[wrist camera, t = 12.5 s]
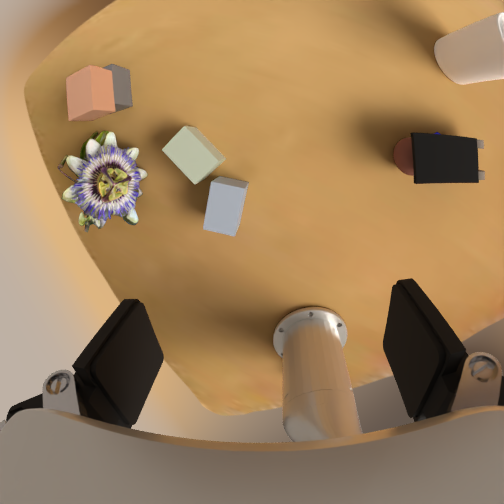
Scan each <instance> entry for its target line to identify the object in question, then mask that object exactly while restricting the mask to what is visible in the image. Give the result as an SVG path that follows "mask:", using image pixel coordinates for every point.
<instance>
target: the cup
mask: <svg viewBox="0 0 504 504" xmlns="http://www.w3.org/2000/svg"><path fill="white" fill-rule="evenodd" d="M434 54H435V58H436V61H437V63H438V65H439V67H440V68H441V70H442V71H443V73H444V74H445V75H446V76H447V77H448V78H449V79H450V80H452V81H453V82H455V83H457V84H469V83H475V82H482V81H489V80H497V79H504V12H502V13H498V14H495V15H493V16H490V17H487V18H485V19H482V20H480V21H477V22H475V23H473V24H470V25H468V26H466V27H463V28H461V29H459V30H457V31H454V32H452V33H450V34H448V35H446V36H444V37H442V38H440V39H438V40H437V41H436V43H435V46H434Z"/></svg>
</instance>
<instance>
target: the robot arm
mask: <svg viewBox="0 0 504 504" xmlns="http://www.w3.org/2000/svg"><path fill="white" fill-rule="evenodd" d="M346 340H347V328H346V325H345V323H344V321H343V319H342V318H341V317H340V316H339V315H338V314H337V313H336V312H334V311H332V310H330V309H326V308H322V307H307V308H302V309H299V310H296V311H293V312H292V313H290V314H288V315H287V316H285V317H284V318H283V319H282V320H281V321H280V322H279V323H278V325H277V326H276V328H275V331H274V334H273V344H274V348H275V350H276V352H277V353H278V355H279V356H280V357H282V358H283V426H284V429H285V431H286V433H287V435H288V436H289V438H290V439H291V440H292V441H293V442H285V443H284V442H282V443H237V442H219V441H206V440H196V439H187V438H180V437H173V436H166V435H160V434H154V433H149V432H144V431H139V430H134V429H131V427H132V425H134V424H135V423H136V422H137V419H138V417H139V415H140V412H141V410H142V408H143V406H144V403H145V401H146V399H147V396H148V394H149V392H150V390H151V387H152V385H153V383H154V380H155V378H156V376H157V374H158V372H159V369H160V367H161V365H162V363H163V359H164V356H163V352H162V350H161V347H160V345H159V343H158V340H157V338H156V335H155V333H154V330H153V328H152V325H151V322H150V320H149V317H148V314H147V312H146V309H145V306H144V304H143V303H140V301H139V300H138V299H124V300H123V301H122V302H121V303H120V305H119V306H118V307H117V308H116V310H115V311H114V312H113V313H112V314H111V316H110V317H109V318H108V319H107V321H106V322H105V323H104V325H103V326H102V327H101V328H100V330H99V331H98V332H97V333H96V335H95V336H94V337H93V339H92V340H91V341H90V343H89V344H88V345H87V346H86V348H85V349H84V350H83V352H82V353H81V354H80V356H79V357H78V358H77V360H76V361H75V363H74V364H73V365H72V367H73V368H74V370H75V371H76V372H75V374H74V375H73V374H72V373H71V372H70V371H68V370H59V371H56V372H55V373H52V374H51V375H50V376H49V377H48V378H47V379H46V380H45V382H44V384H43V393H42V394H40V395H38V396H35V397H33V398H30V399H28V400H26V401H23V402H21V403H18V404H16V405H14V406H12V407H11V408H10V410H9V412H8V415H7V419H6V421H7V422H6V421H5V420H3V421H2V422H0V504H504V376H502V367H501V365H500V363H499V362H498V361H497V359H496V358H495V357H493V356H492V355H490V354H488V353H484V352H476V353H473V354H471V355H470V356H468V354H467V353H466V349H465V348H464V346H463V344H462V343H461V341H460V340H459V338H458V337H457V335H456V334H455V333H454V331H453V330H452V328H451V327H450V326H449V324H448V323H447V322H446V320H445V319H444V317H443V316H442V315H441V313H440V312H439V311H438V309H437V308H436V307H435V306H434V304H433V303H432V302H431V300H430V299H429V298H428V297H427V295H426V294H425V293H424V292H423V290H422V289H421V288H420V287H419V285H418V284H417V283H416V282H415V281H414V280H413V279H404V280H398V281H397V283H396V285H393V287H392V292H391V299H390V306H389V312H388V318H387V324H386V329H385V334H384V339H383V349H384V352H385V354H386V357H387V359H388V362H389V364H390V367H391V369H392V372H393V375H394V377H395V380H396V382H397V385H398V388H399V390H400V393H401V396H402V399H403V401H404V404H405V407H406V410H407V413H408V415H409V417H410V418H412V417H413V419H414V423H410V424H406V425H402V426H398V427H394V428H390V429H385V430H380V431H375V432H370V433H365V434H363V433H362V429H361V426H360V422H359V417H358V413H357V409H356V404H355V400H354V395H353V390H352V386H351V382H350V377H349V373H348V369H347V365H346V361H345V357H344V353H343V349H342V348H343V347H344V345H345V343H346Z"/></svg>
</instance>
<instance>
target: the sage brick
mask: <svg viewBox="0 0 504 504" xmlns="http://www.w3.org/2000/svg"><path fill="white" fill-rule="evenodd" d="M162 151H163V152H164V153H165V154H166V155H167V156H168V157H169V158H170V159H171V160H172V161H173V162H174V163H175V164H176V165H177V167H178V168H179V169H180V170H181V171H182V172H183V173H184V174H185V175H186V176H187V177H188V178H189V179H190V180H191V181H192V182H193V183H194V184H197V183H199V182H200V181H202V180H204V179H205V178H206V177H207V176H208V175H209V174H211V173H212V172H213V171H214V170H215V169H216V168H217V167H218V166H219V165H220V164H221V163H222V162H223V161H224V160H226V158H225V157H224V156H223V155H222V154H221V153H220V152H219V151H218V150H217V149H216V147H215V146H214V145H213V144H212V143H211V142H210V141H209V140H208V139H207V138H206V137H205V136H204V135H203V134H202V133H201V132H200V131H199V130H198V129H197V128H196V127H189V126H184V127H183V128H182V129H181V130H180V131H179V132H178V133H177V134H176V135H175V136H174V137H173V138H172V139H171V140H170V141H169V142H168V144H167V145H166V146H165V147H164V148H163V149H162Z"/></svg>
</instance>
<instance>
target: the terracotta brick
mask: <svg viewBox="0 0 504 504" xmlns="http://www.w3.org/2000/svg"><path fill="white" fill-rule="evenodd" d="M66 90H67V106H68V117H69V121H93V120H95V119H98V118H100V117H102V116H105V115H108V114H110V113H113V112H115V102H114V91H113V79H112V71H110V70H107V69H104V68H100V67H97V66H93V65H89V66H87V67H85V68H83V69H81V70H79V71H77V72H75V73H74V74H72V75H70V76H68V77H67V78H66Z"/></svg>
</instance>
